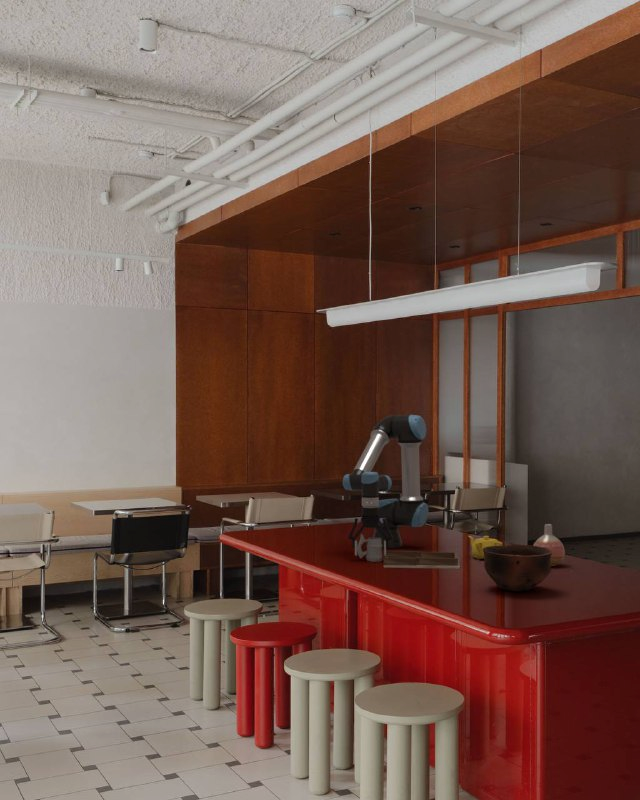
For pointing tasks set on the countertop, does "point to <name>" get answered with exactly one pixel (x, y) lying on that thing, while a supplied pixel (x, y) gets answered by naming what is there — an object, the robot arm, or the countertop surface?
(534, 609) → the countertop surface
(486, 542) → the teapot
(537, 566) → the bowl
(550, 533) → the vase
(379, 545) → the mug
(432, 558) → the rimmed tray
